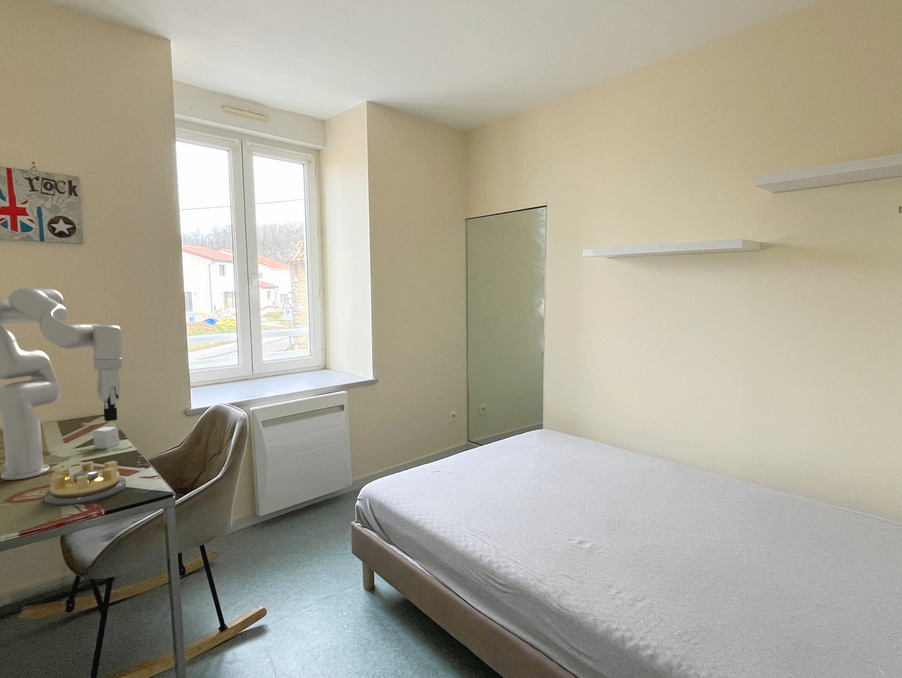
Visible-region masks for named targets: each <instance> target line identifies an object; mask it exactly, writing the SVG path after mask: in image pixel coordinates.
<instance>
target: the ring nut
mask: <svg viewBox="0 0 902 678" xmlns="http://www.w3.org/2000/svg"><path fill="white" fill-rule="evenodd" d="M103 464H104V468H103V469H94V461H92V460H91V461H85V462H83V463H82V470H81V471H79V472H76V473H73V474H70V471H69V468H59V469H56V470H54V471H53V477H50V480H49V481H50V486H49V488H50V490H51V496H53V497H55V498H76V497H83V496H88V495H93V494H96V493H100V492H103V491H106V490H108V489H111V488H113V487H115V486H116V485H118V484H119V482H120V477H121V476H120V472H119V469H118V468H119V467H118V466H119V465H118V461H115V460H110V461H107V462H104V463H103Z"/></svg>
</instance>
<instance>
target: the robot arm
mask: <svg viewBox="0 0 902 678" xmlns="http://www.w3.org/2000/svg"><path fill="white" fill-rule="evenodd" d="M64 303H65V302H64V297H63V296H62V294H61V293H60V292H59V291H57V290H56V289H54V288H48V287H23V288H22V287H21V288H18V289H15V290H13V291H12V292H11V293H10V294H9V295H8V298H5V297H2V298H0V380H3V381H6V380H7V381H9V380H16V379H17V380H18V379H24V378H29V379H28V380H22V381H16V382H10V383H7V384H4V385H2V386H1V387H0V418H1V425H2V434H3V444H4V456H5V462H3V464H2V465H3V466H2V467H5V469H6V471H3V472H2V473H1V474H0V478H1V480H6V481H7V480H8V481H14V480H21V479H22V480H23V479H28V478H34V477H36V476H40V475H43V474H44V473H47V472H48V471H50V465H49V464H45V463H44V456H43V455H44V454H43V453H44V452H43V441H42V431H41V430H42V429H41V428H42V427H41V422H40V418H39V417H38V415H37V414H36V413H35V411H34V410H33V409H34V408H38V407H42V406H47V405H50V404H53V403H55V402H57V401H58V399H59V398H60V396H61V387H60V384H59V381H58V379H57V376H56V373H55V370H54V369H55V368H54V367H53V363H52V361H51V359H50V358H49V356H48V354H46V353H45V352H44V351H42V350H40V349H35V348H34V349H33V348H29V349H21V348H20V347H19V344H18V341H17V338H16V336H15V335H14V334H13V333H12V332H11V331H10V330H8V329H7V328H5V327H4V326H3V325H4V324H25V323H34V322H35V323H37V324H38V325H39V330H40V332H41V334H42V336H43V337H44V338H45V339H46V341H47V340H48V341H49V342H51V343H53V344H54V345H56V346H58V347H59V348H63V349H68V350H74V349H83V348H92V347H93V349H92V350H93V369H94V370H96V371H97V372H96V396H97V398H98V399H99V400H101V401H102V402H103V420H104V421H105V422H112V421H117V420H118V409H117V400H120V398H121V379H120V376H121V374H120V369H123V368H124V366H123V365H124V364H123V360H124V359H123V336H122V328H121V327H120V326H119V325H114V324H106V325H105V324H101V323H94V322H93V323H79V324H78V323H77V324H76V323H75V324H67V323H64V322H65V320H66V318H67V316H68V309H67V308H66V307H65V306H64Z"/></svg>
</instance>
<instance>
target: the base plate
mask: <svg viewBox="0 0 902 678" xmlns="http://www.w3.org/2000/svg"><path fill="white" fill-rule="evenodd" d="M126 486H127V482H126V478H124V477H123V476H120V482H119V484H118V485H116V486H115V487H113V488H111V489H108V490H106V491H103V492H100V493H96V494H93V495H88V496H83V497H76V498H55V497H53V496H51V489H50V490H48V491H46V493H45V494H44V503H45V504H46V505H48V506H53V507H68V506H69V505H72V506H77V505H76V504H79V505H84V504H89V503H93V502H98V501H100V500H101V501H102V500H104V499H107V498H110V497H112V496H114V495H117V494H119V493H120V492H122V491H123V490H124V489H125V488H126ZM69 507H70V506H69Z"/></svg>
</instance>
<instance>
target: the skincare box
mask: <svg viewBox="0 0 902 678" xmlns="http://www.w3.org/2000/svg"><path fill="white" fill-rule="evenodd" d="M92 433H93V444H94V445H93V446H94V449H110V448H113V447H116V446H119V445H120V438H119V437H120V436H119V427H118V426H103V427H101V428H98V429H94V430H92Z"/></svg>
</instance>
